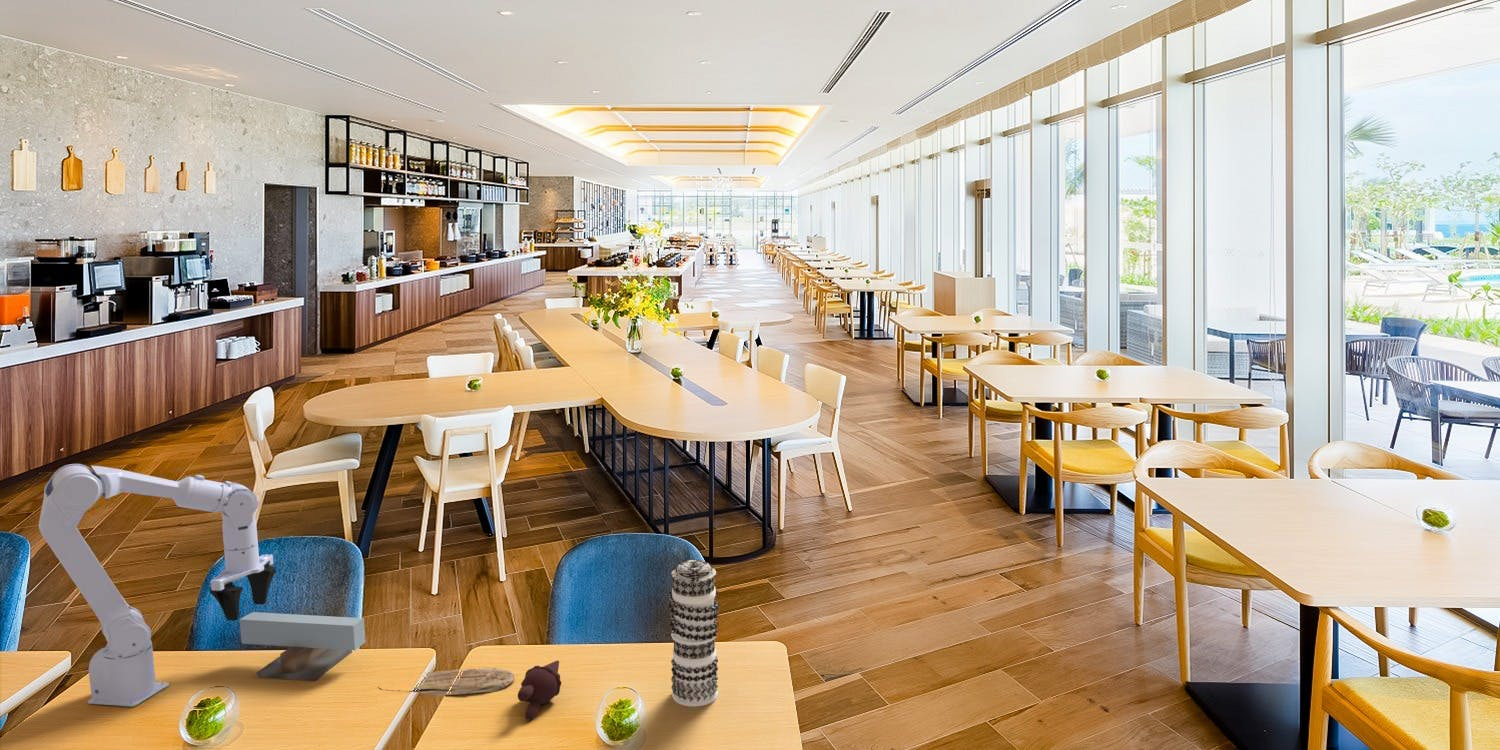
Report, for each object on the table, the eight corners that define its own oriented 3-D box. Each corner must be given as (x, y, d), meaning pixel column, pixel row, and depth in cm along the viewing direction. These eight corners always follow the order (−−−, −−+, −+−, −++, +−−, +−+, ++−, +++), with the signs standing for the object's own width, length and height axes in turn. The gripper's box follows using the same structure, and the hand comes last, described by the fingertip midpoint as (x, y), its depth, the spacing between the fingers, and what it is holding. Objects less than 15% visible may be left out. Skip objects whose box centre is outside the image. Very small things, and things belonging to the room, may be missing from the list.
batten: (241, 643, 165) (239, 619, 164) (254, 635, 168) (252, 612, 167) (355, 650, 162) (353, 625, 161) (365, 642, 165) (363, 618, 164)
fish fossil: (366, 701, 152) (366, 695, 152) (385, 678, 162) (384, 672, 162) (511, 690, 155) (511, 684, 155) (520, 668, 165) (519, 662, 165)
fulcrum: (256, 677, 160) (254, 655, 160) (297, 648, 172) (296, 628, 171) (314, 681, 159) (312, 658, 158) (352, 652, 171) (350, 631, 170)
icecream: (534, 647, 159) (498, 693, 144) (569, 641, 157) (536, 688, 143) (546, 680, 160) (510, 729, 145) (580, 674, 158) (548, 723, 144)
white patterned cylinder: (669, 683, 158) (667, 556, 154) (718, 681, 159) (717, 554, 155) (669, 709, 149) (667, 574, 145) (721, 706, 150) (720, 572, 146)
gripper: (232, 559, 156) (238, 628, 158) (284, 534, 170) (289, 598, 172) (198, 557, 157) (204, 626, 159) (253, 533, 171) (258, 596, 173)
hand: (246, 611), depth 165 cm, fingers open, 7 cm apart
